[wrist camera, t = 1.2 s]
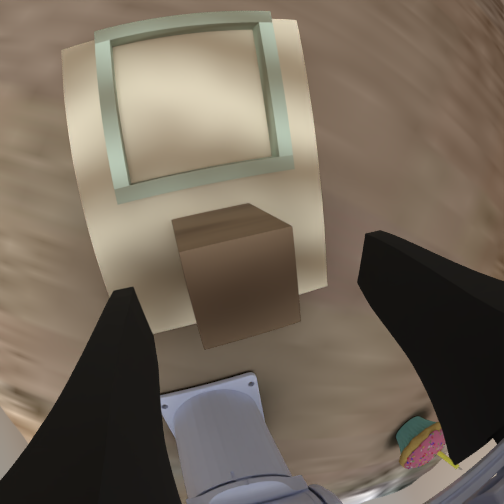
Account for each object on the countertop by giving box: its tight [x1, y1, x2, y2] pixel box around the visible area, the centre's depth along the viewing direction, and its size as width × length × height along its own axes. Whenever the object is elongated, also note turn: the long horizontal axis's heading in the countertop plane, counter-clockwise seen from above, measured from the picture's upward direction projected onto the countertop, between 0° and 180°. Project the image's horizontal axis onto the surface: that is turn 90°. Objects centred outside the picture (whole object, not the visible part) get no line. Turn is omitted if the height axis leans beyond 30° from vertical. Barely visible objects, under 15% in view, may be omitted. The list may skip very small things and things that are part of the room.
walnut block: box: [171, 203, 301, 350], centre depth 15 cm, size 4×4×6 cm
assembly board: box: [62, 11, 327, 334], centre depth 16 cm, size 18×14×2 cm
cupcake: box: [396, 416, 462, 470], centre depth 31 cm, size 9×8×12 cm
